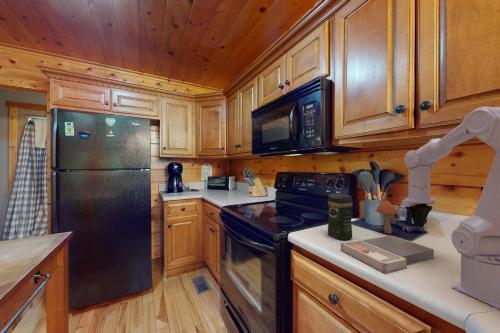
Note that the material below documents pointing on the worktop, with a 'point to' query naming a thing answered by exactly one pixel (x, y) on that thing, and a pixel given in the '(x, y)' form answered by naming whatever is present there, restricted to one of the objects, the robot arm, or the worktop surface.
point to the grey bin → (384, 267)
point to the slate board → (403, 248)
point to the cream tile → (379, 257)
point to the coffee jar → (340, 216)
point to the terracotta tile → (361, 248)
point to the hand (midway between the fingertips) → (418, 226)
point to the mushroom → (386, 214)
